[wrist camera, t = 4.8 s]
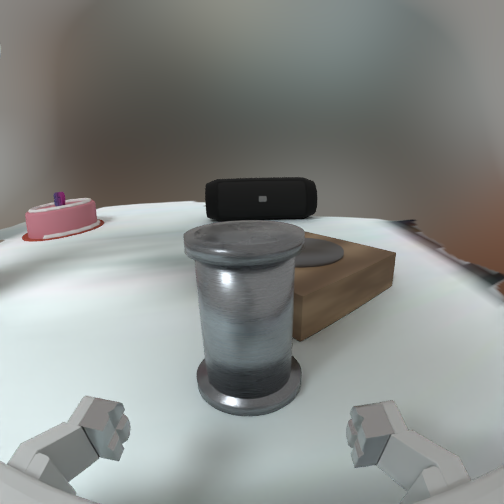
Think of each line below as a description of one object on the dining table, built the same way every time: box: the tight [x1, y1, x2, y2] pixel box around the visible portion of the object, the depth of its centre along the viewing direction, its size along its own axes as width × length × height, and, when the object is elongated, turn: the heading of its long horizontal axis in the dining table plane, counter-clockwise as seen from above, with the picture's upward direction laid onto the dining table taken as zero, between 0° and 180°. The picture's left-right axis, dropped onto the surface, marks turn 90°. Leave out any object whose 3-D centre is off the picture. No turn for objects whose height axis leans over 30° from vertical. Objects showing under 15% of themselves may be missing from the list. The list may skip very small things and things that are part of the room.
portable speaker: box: [205, 177, 317, 221], centre depth 73 cm, size 26×10×10 cm, turn 94°
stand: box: [292, 232, 396, 342], centre depth 34 cm, size 16×16×4 cm
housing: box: [184, 220, 305, 416], centre depth 18 cm, size 7×7×10 cm
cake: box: [22, 192, 104, 241], centre depth 71 cm, size 25×25×11 cm
